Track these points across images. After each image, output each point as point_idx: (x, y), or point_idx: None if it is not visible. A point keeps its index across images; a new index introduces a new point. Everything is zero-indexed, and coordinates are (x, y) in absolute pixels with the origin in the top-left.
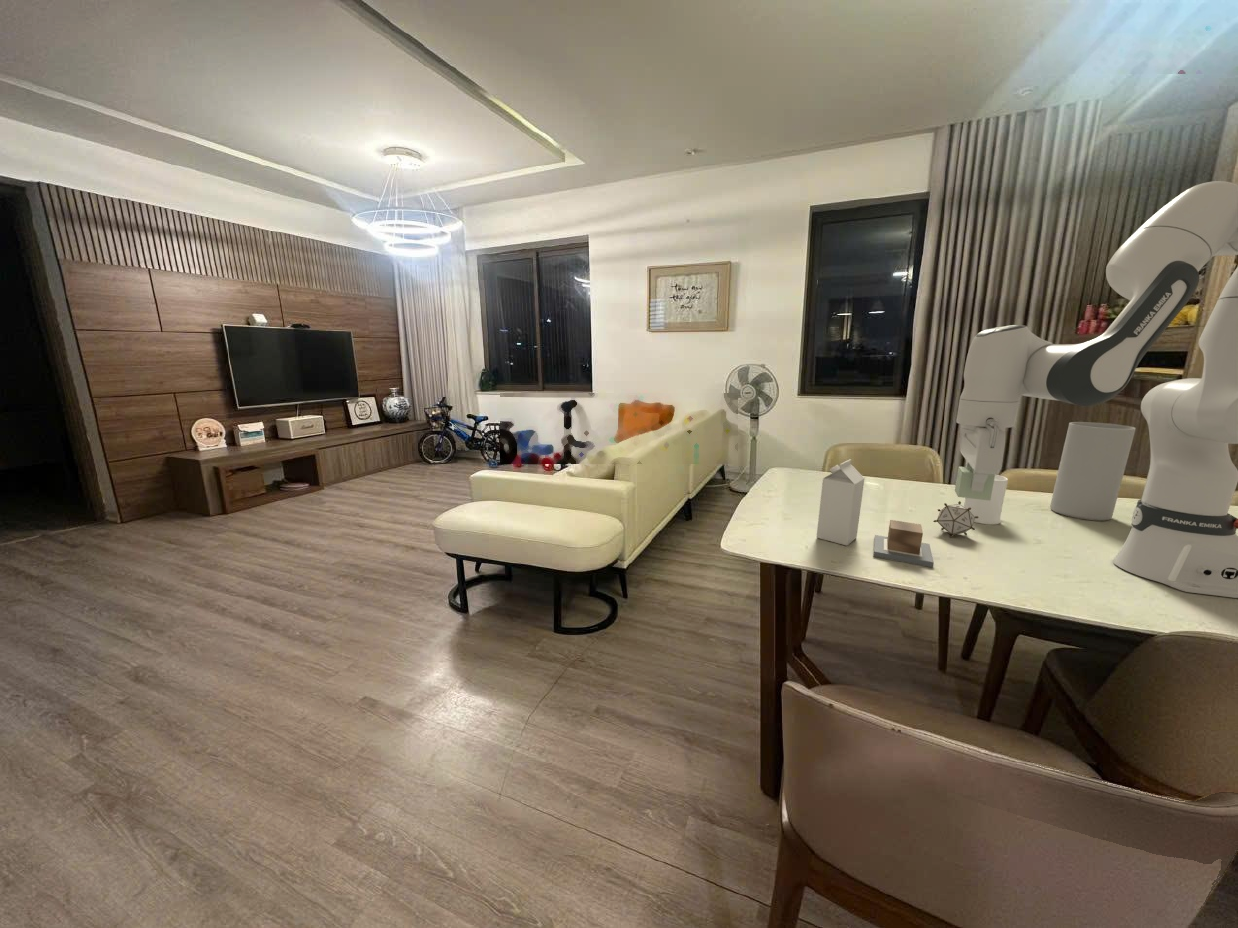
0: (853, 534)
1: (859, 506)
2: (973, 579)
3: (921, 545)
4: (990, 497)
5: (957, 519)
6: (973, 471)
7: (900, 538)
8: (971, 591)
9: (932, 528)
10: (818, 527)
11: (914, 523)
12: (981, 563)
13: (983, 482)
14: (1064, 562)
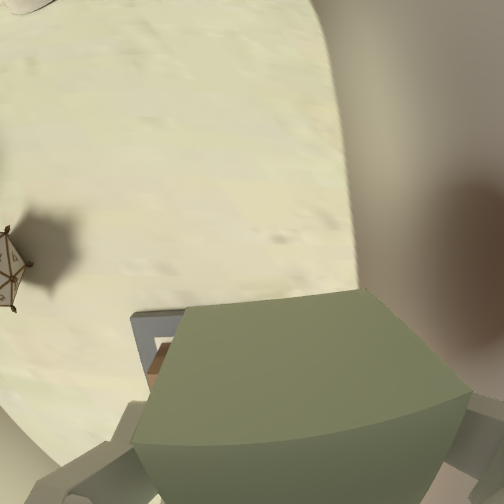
0: None
1: None
2: (277, 222)
3: (154, 334)
4: (375, 297)
5: (5, 271)
6: (474, 497)
7: None
8: (350, 230)
9: None
10: None
11: (150, 387)
12: (152, 202)
13: (471, 400)
14: (56, 60)
